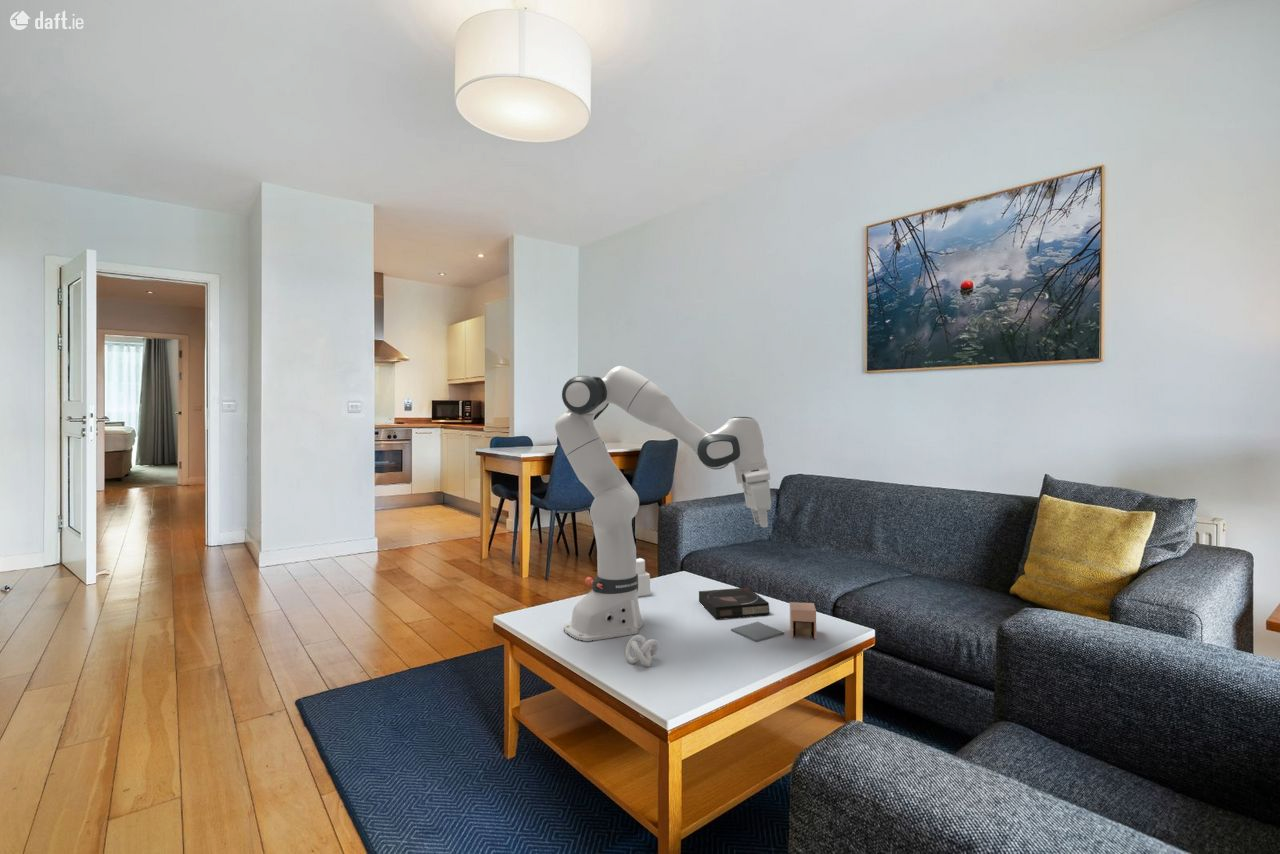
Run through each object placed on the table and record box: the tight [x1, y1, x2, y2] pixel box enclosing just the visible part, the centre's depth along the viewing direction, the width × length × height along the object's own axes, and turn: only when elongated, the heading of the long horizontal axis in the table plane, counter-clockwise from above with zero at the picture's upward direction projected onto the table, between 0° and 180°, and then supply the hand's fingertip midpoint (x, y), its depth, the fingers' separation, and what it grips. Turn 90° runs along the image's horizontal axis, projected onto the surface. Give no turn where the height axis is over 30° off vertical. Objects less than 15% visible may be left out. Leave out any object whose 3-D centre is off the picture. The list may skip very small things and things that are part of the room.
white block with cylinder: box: [636, 556, 651, 598], centre depth 202 cm, size 7×7×12 cm
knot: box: [625, 634, 659, 668], centre depth 146 cm, size 8×8×6 cm
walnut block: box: [794, 621, 812, 638], centre depth 163 cm, size 4×4×4 cm
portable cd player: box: [698, 587, 770, 620], centre depth 185 cm, size 16×17×4 cm
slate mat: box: [730, 621, 785, 643], centre depth 165 cm, size 10×10×1 cm
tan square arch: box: [789, 601, 817, 640], centre depth 163 cm, size 6×6×8 cm
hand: (761, 525), depth 164 cm, fingers open, 8 cm apart
